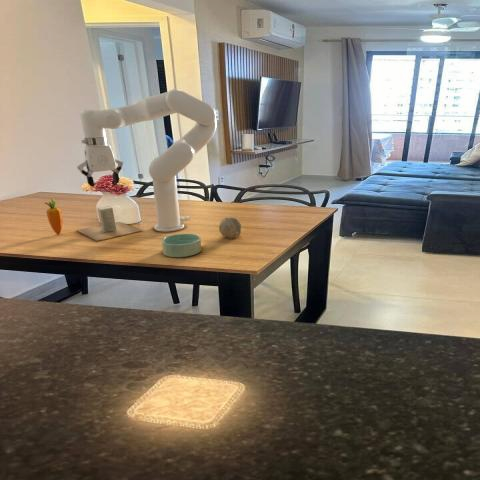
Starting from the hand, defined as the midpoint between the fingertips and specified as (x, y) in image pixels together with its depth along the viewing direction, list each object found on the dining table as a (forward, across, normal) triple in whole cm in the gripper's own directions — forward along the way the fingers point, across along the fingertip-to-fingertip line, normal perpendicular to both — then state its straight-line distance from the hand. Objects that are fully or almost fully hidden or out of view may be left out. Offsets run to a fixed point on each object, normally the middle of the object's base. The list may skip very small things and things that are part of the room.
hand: (104, 184), depth 158 cm
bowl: (+21, +6, -44) cm, 49 cm away
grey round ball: (+22, +29, -42) cm, 56 cm away
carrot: (+20, -17, +11) cm, 29 cm away
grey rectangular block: (+20, -1, +1) cm, 20 cm away
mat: (+20, -1, +1) cm, 20 cm away
